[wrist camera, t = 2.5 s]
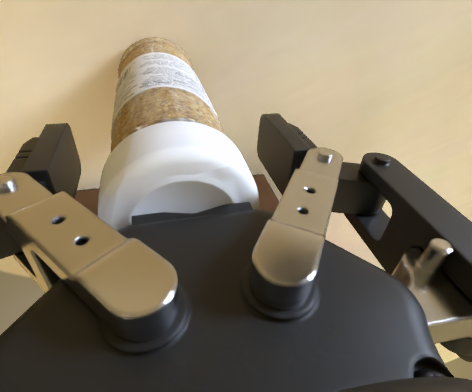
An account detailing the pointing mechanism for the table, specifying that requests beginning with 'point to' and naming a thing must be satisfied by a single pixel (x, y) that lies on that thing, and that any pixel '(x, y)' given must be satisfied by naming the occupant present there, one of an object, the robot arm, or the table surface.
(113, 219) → the sprinkles bottle
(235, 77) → the table surface
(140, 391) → the robot arm
